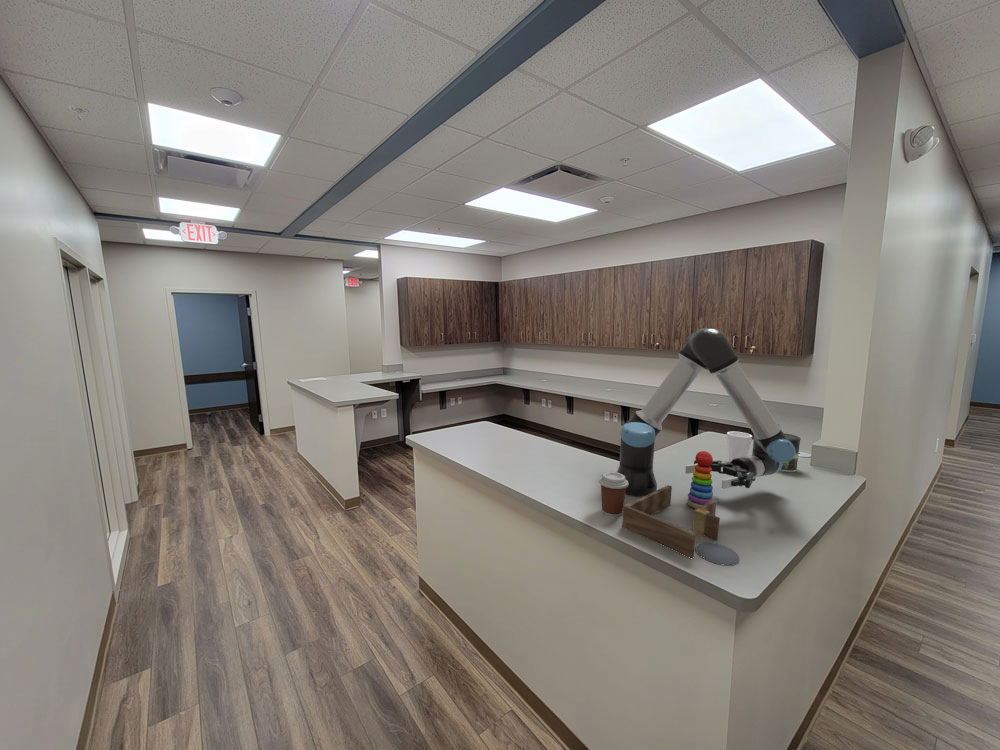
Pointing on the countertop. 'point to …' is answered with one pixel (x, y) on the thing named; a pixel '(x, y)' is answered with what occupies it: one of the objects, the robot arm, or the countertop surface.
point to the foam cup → (738, 444)
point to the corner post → (700, 521)
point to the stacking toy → (701, 481)
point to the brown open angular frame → (662, 531)
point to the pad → (717, 553)
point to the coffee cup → (613, 493)
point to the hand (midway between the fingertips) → (703, 476)
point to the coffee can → (792, 464)
